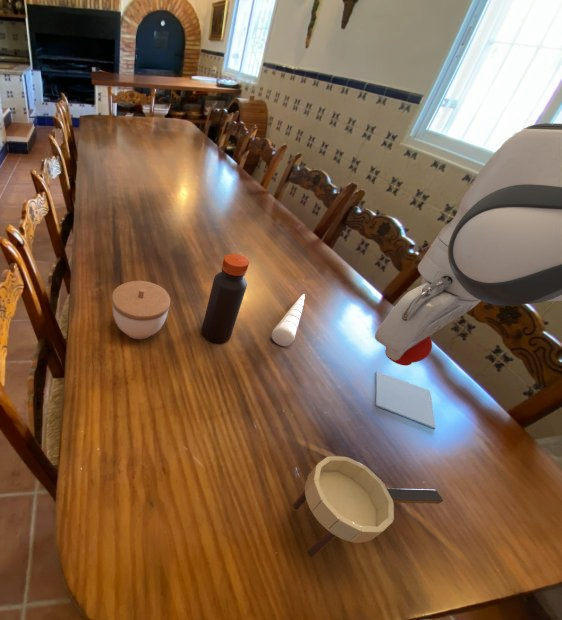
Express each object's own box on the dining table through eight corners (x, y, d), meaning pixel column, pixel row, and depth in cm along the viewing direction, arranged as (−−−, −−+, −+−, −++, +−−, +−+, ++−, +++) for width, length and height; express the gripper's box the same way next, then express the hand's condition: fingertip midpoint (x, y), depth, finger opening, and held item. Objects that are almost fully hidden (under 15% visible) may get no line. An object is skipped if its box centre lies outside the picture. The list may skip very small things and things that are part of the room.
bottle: (219, 321, 86) (240, 248, 74) (236, 339, 82) (261, 265, 69) (195, 327, 84) (212, 254, 71) (211, 347, 79) (232, 272, 66)
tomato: (425, 362, 53) (450, 333, 49) (406, 375, 50) (430, 346, 47) (390, 339, 56) (410, 311, 53) (370, 351, 54) (390, 322, 50)
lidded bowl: (105, 314, 85) (106, 276, 78) (155, 307, 89) (160, 270, 82) (118, 352, 76) (120, 312, 69) (173, 343, 79) (180, 304, 72)
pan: (294, 565, 48) (333, 531, 40) (274, 496, 55) (304, 455, 47) (409, 567, 49) (469, 533, 41) (374, 498, 56) (420, 458, 48)
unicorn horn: (317, 301, 95) (324, 286, 92) (288, 351, 80) (295, 335, 77) (299, 294, 97) (306, 279, 94) (268, 341, 82) (274, 325, 79)
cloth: (429, 391, 73) (430, 390, 73) (434, 429, 66) (435, 428, 66) (375, 372, 77) (376, 370, 76) (375, 406, 70) (376, 404, 69)
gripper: (453, 307, 37) (386, 390, 46) (529, 262, 46) (460, 339, 54) (394, 276, 41) (342, 358, 50) (473, 240, 50) (418, 315, 59)
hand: (405, 348), depth 52 cm, fingers closed on tomato, 5 cm apart
